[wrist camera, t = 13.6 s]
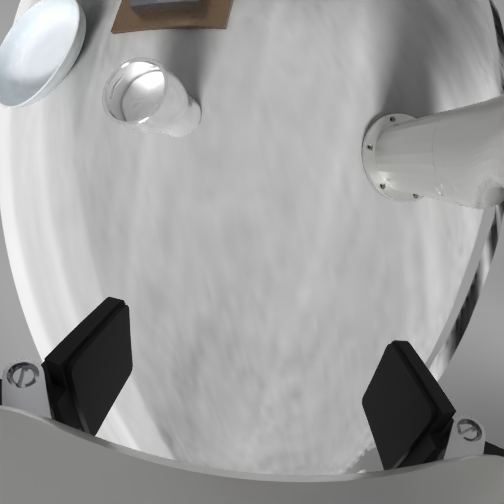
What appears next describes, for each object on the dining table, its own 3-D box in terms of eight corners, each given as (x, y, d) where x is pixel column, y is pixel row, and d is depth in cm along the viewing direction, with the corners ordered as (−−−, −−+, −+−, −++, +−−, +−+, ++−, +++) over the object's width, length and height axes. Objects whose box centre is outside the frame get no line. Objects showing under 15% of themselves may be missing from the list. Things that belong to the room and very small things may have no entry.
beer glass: (152, 100, 34) (97, 72, 20) (200, 86, 34) (165, 45, 19) (159, 146, 36) (104, 137, 22) (208, 133, 36) (175, 113, 21)
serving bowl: (11, 125, 35) (-14, 124, 28) (23, 33, 29) (2, 25, 23) (95, 91, 34) (70, 81, 27) (106, -9, 28) (88, -26, 22)
